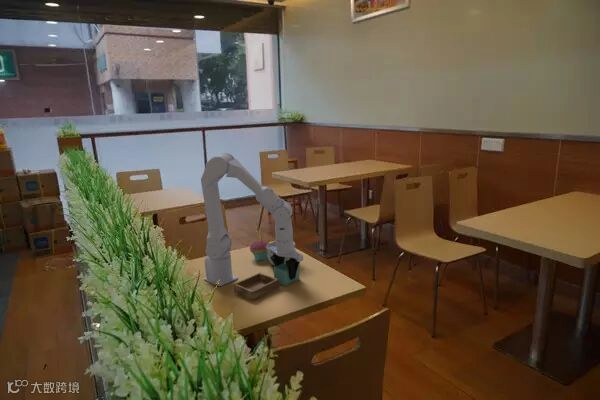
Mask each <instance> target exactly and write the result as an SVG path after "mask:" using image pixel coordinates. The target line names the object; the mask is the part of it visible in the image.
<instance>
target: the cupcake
mask: <svg viewBox="0 0 600 400" xmlns="http://www.w3.org/2000/svg"><path fill="white" fill-rule="evenodd" d="M260 228H261V227H259V228H258V238H259V239H258V240H257V241H253V242H252V243H251V244H250V245H249V251H250V253H252V254H253V257H254V259H255V260H256V261H265V260H267V259H268V253H267V248H266V246H267V245H268V244H269V243H270V242H269V241H267V240H262V236H261V235H262V234H261V232H262V231H261V229H260Z"/></svg>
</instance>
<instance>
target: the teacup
mask: <svg viewBox="0 0 600 400" xmlns="http://www.w3.org/2000/svg"><path fill="white" fill-rule="evenodd" d="M272 246H274V247H276V240H275V241H272V242H269V244H268V245H267V246H266V248H267V253H268V257H267V259H268V261H269V263H271V265H273V266H274V267H275V265H274V263H273V261H272V260H271V259H270V257H271V256H273V253H269V249H268V248H269V247H272ZM293 248H295V251H296V252H297V249H296V242H295V241H294V240H293ZM287 260H290V258H287V257H285V260H284V263H285V261H287Z"/></svg>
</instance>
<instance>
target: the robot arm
mask: <svg viewBox="0 0 600 400" xmlns="http://www.w3.org/2000/svg"><path fill="white" fill-rule="evenodd" d="M225 175H226V176H225ZM224 176H225V177H226V178H235V179H237V180H238V181H240V182H241V183H242V184H243V185H244V186H246V187H247V188H248V189H249V190H251V191H252V192H253V193H254V194H255V200H256V201H257V202H258V203H259V204H260V205H261V206H262V207H263V208H265V209H266V210H267V211H268V212H269V213H270V214H272V215H271V217H272V219H273V221H274V232H275V241H276V247H274V246H272V247H269V248H268V249H269V253H273V256H271V257H270V259H271V260H272V261H273V263H274V265H275V266H274V265H273V266H274V267H276V266H278V265H280V264H283V263H284V260H285V257H287V258H290V260H287V261H285V263H286V265H287V267H288V271H289V278H290V280H292V279H294V278H295V277H296V272H297V268H298V266H300V263H301V262H304V255H303V254H302V253H299V252H298V251H297V250H296V247H295V248H293V241H294V237H293V236H294V233H293V224H292V223H293V222H292V221H293V220H292V217H291V216H292V215H293V206H292V205H291V204H290V202H289V201H285V199H283V198H280V197H279V195H278V194H277V193H276V192H275V189H274V188H273V187H271V188H270V187H269V186H263V185H262V184H261V183H260V182H259V181H258V180H257V179H256V178H255V177H254V176H253V175H252V174H251V173H250V172H249V171H248V170H247V169H246V168H245V167H244V166H243V164H242V163H241V162H240V161H239V159H237V158H235V157H234V156H233V155H232V154H231V153H228V152H224V153H221V154H219V155H217V156H213V157H211V158H210V159H209V160H208V161H207V162H206V163H205V168H204V171H203V173H202V175H201V178H200V184H201V189H202V197H203V203H204V209H205V215H206V221H207V229H208V234H207V237H206V247H205V253H206V257H205V259H204V267H205V271H204V272H205V277H204V278H203V279H204V280H205V281H207V282H209V283H211V284H213V285H216V283H217V281H218V280H219V279H220V281H219V284H218V285H216V286H218V287H222V286H225V285H226V284H229V283H231V282H234V281H236V280H238V279H239V277H238V276H236V275H233V269H232V255H231V252H230V248H231V247H232V243H233V242H232V239H231V237H230V235H229V234H228V229H227V228H226V227H225V223H224V217H223V210H222V203H221V197H220V195H221V194H220V190H219V189H220V188H219V182H221V180H222V178H223V177H224ZM295 250H296V251H295Z"/></svg>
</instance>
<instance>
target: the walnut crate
mask: <svg viewBox="0 0 600 400" xmlns="http://www.w3.org/2000/svg"><path fill="white" fill-rule="evenodd" d="M232 285H233V293H235V294H237V295H239V296H241V297H243V298H245V299H248V300H250V301H251V302H252V301H253V302H255V301H256V300H258V299H260V298H262V297H264V296H266V295H268V294H270V293H271V292H274V291H276V290H278V289H280V284H279V279H276V278H274V276H271V275H268V274H264V273H262V272H258V273H256V274H254V275H251V276H249V277H246V278H243V279H242V280H239V281H238V282H235V283H233V284H232Z"/></svg>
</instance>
